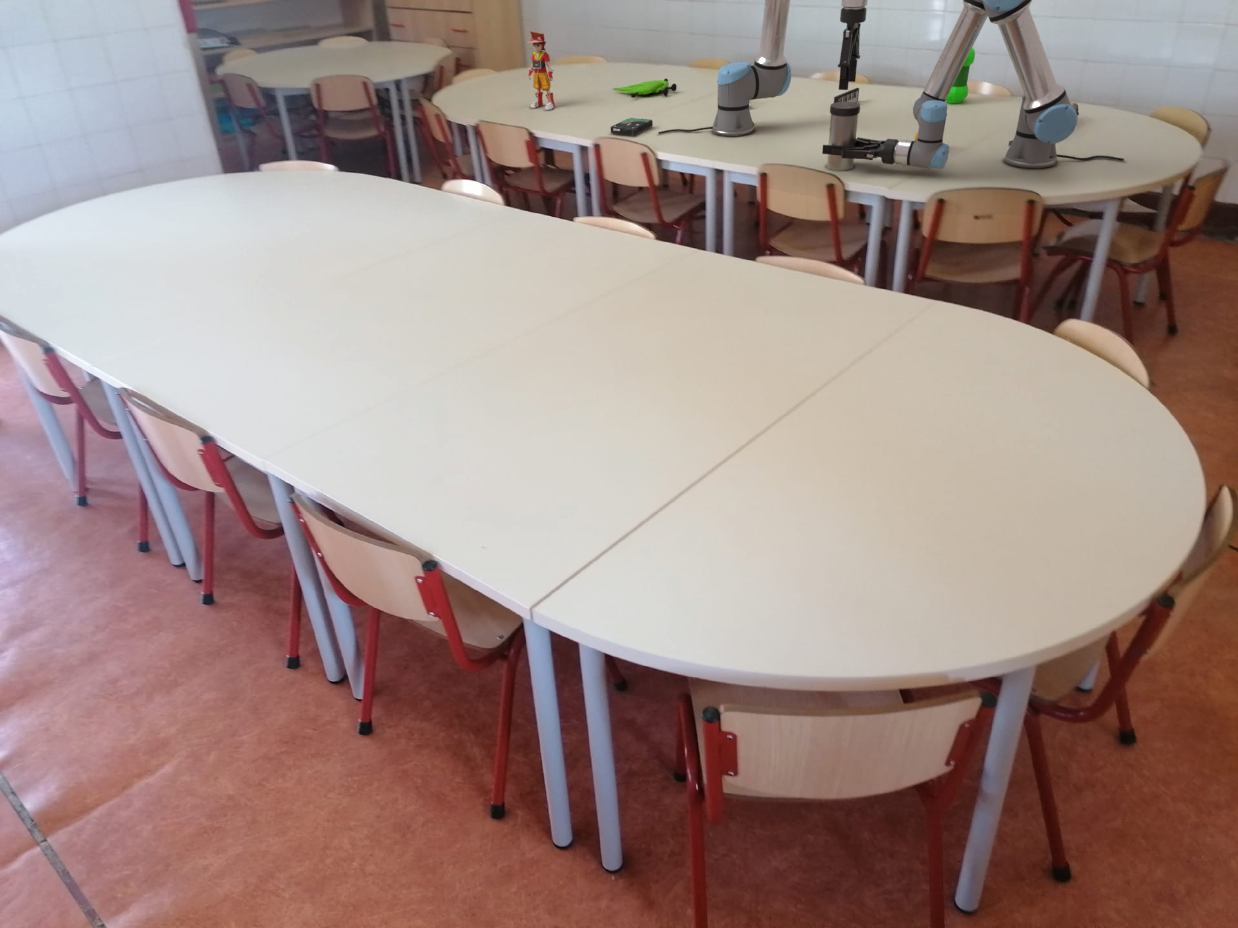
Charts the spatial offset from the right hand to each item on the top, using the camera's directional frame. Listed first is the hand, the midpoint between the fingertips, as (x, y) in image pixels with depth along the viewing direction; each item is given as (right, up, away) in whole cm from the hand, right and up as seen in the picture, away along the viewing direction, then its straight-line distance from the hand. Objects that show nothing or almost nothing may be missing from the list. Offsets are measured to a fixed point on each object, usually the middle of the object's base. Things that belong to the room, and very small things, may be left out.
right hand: (827, 145), depth 293 cm
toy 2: (-59, +61, +104) cm, 134 cm away
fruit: (+36, +3, +12) cm, 38 cm away
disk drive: (-63, +24, +52) cm, 85 cm away
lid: (+3, +9, -9) cm, 13 cm away
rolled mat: (+84, +15, +25) cm, 89 cm away
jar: (+4, -6, +2) cm, 8 cm away
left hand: (+3, +14, -13) cm, 19 cm away
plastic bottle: (+64, +39, +62) cm, 97 cm away
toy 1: (-101, +48, +90) cm, 143 cm away
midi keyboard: (+23, +39, +65) cm, 80 cm away
